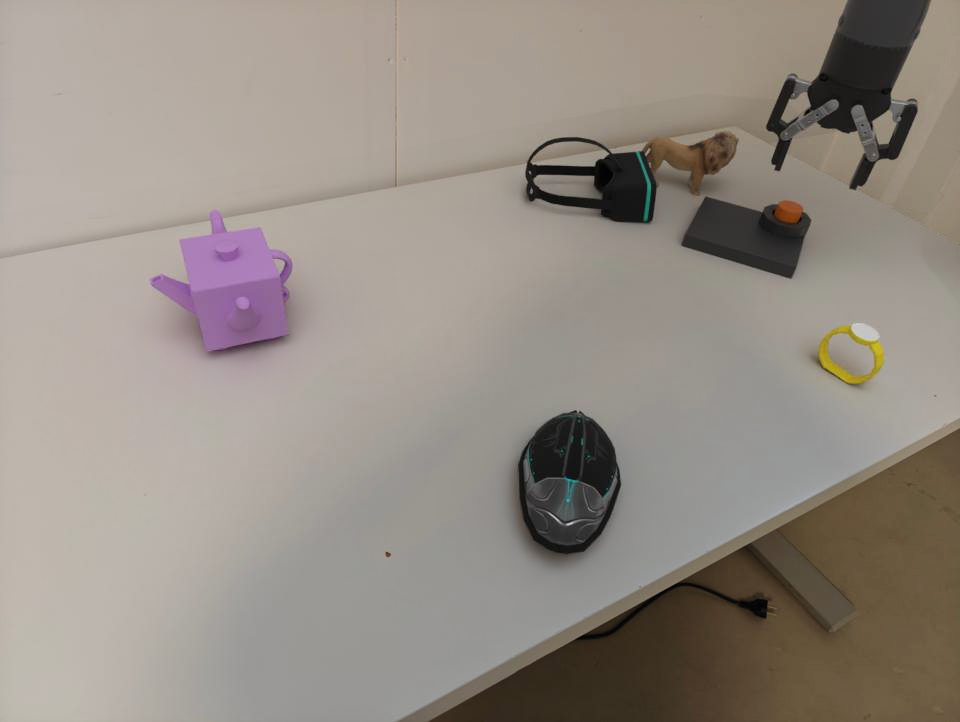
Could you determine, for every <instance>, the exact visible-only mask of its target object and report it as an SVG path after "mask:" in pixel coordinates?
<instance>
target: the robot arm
mask: <svg viewBox="0 0 960 722" xmlns="http://www.w3.org/2000/svg"><path fill="white" fill-rule="evenodd" d="M931 3H932V0H847V1H846V3H845V4H844V7H843V10H842V13H841V14H840V17H839V19H838V20H837V21H838V22H837V26H836V28H835V31H834V34H833V37H832V39H831V41H830V44H829V47H828V49H827V52H826V54H825V57H824V59H823V62H822V65H821V67H820V69H819V73H818V75H817V76H816V78H814V79H813V80H812V81H811V80H806V79H802V78H799V76H798V75H797V74H796V73H789V74H788V75H787V76H786V78H785V80H784V82H783V84H782V87H781V90H780V92H779V94H778V96H777V99H776V101H775V104H774V106H773V108H772V111H771V113H770V116H769V118H768V120H767V123H766V125H765V129H766V131H768V132H770V133H771V132H772V133H773V134H775V135H776V136H777V139H778V141H777V143H776V146H775V148H774V151H773V154H772V157H771V159H770V162H771V163H770V164H771V165H772V166H774V169H773V170H774V171H776V172H781V170H782V167H783V164H784V162H785V159H786V156H787V155H788V151H789V149H790V146H791V144H792V141H793V138H794V137H795V136H796V135H798V134H799V133H801V132H803V131H806V130H807V129H808V128H810V127H811V126H813V125H815V124H816V123H817V125H819V126H820V128H822V129H826V130H837V131H839V132H841V133H844V134H847V135H849V134H850V133H856V132H857V135H858V137H859V140H860V143H861V145H862V148H863V151H864V152H863V154H862V156H861V158H860V160H859V163H858V164H857V166H856V169H855V171H854V173H853V175H852V177H851V180H850V182H849V186H848V189H849V190H852V191H856V190H857V189H858V187H862V188H863V186H865V184H866V183H867V181H868V180H869V178H870V175H871V173H872V171H873V169H874V167H875V166H876V163H877V162H878V161H880V160H888V161H895V160H897V159H898V158H899V157H900V155H901V152H902V150H903V148H904V145H905V143H906V140H907V138H908V135H909V133H910V131H911V129H912V126H913V123H914V121H915V119H916V116H917V115H918V112H919V111H918V110H919V104H918V103H919V101H918V100H917V99H916V98H909V99H907V100H902V99H894V98H892V92H893V89H894V87H895V85H896V83H897V81H898V79H899V76H900V75H901V72H902V70H903V67H904V66H905V63H906V61H907V59H908V56H909V55H910V52H911V50H912V48H913V46H914V44H915V41H916V40H917V39H918V38H919V36H920V34H921V29H922V26H923V24H924V23H925V20H926V18H927V15H928V12H929V9H930V5H931ZM803 93H806V95H807V99H808V102H809V106H808V107H806V108H805V109H803V110H802V111H801V112H800V113H798V115H797V116H795V117H794V118H791V120H789V121H788V122H786V121H785V120H783V119H782V117H783V115H784V112H785V110H786V108H787V106H788V104H789V101H790V100H796V99H798V98H799V97H800V95H801V94H803ZM888 111H890V112H891V113H892V117H891V118H892V121H893V123H895V127H894V129H893V131H892V133H891V136H890V138H889V141H888V143H880V142H879V140H878V136H877V132H876V128H875V124H874V121H875V120H877V119H878V118H879V117H881V116H883V115H884V114H886V113H887V112H888Z"/></svg>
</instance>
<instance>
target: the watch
mask: <svg viewBox="0 0 960 722" xmlns="http://www.w3.org/2000/svg"><path fill="white" fill-rule="evenodd" d="M838 334H845V335H846V334H847V335H848V336H849V338H850V339H851V340H852V341H854V342H855V343H857V344H859V345H862V346H867V347H869V349H870V351H871V352H872V355H873V360H874V361H873V364H874V366H873V368H872V370H871V371H870V372H869V373H867V374H865V375H852V373H849V372H848V371H847V370H845V369H843V368H842V367H841V366H840V365H838V364H836V363H835V362H834V361H832V359H831V357H830V354H829V351H828V350H829V341H830V340H831V338H832V337H833V336H836V335H838ZM817 353H818V358H819V361H820V363H821V366H822V368H823V369H826V370H827V371H828V372H830V373H832V374H834V375H835V376H836V377H837V378H838V379H841V380H842V381H843V382H845V383H846V384H851V385H852V384H853V385H860V384H864V383H865V382H868V381H869V380H872V379H873V378H874V377H875V376H876V375H877V374H878V373H879V372H880V371H881V369H882V367H883V365H884V363H885V356H884V355H885V354H884V353H885V351H884V348H883V346H882V345H881V343H880V333H879V332H878V331H877V330H876V329H875V328H874V327H873V326H871V325H868V324H866V323H862V322H856V323H855V322H854V323H853V324H851V325H847V324H846V325H842V326H839V327H836V328H834V329H832V330H831V331H829V332H828V333H827V334H825V335H824V337H823V338H822V339H821V341H820V342H819V344H818V352H817Z"/></svg>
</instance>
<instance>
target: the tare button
mask: <svg viewBox="0 0 960 722" xmlns="http://www.w3.org/2000/svg"><path fill="white" fill-rule="evenodd" d="M777 204H778V205H777V208H776V210H775V213H774V217H775V218H777V219H779V220H781V221H784V222H788V223H797V222H798V221H799V219H800V217H801V214H802V212H804V206H802V205H801V204H800V203H798V202H796V201H793V200H788V199H787V200H785V199H784V200H780V201H779V202H778V203H777Z"/></svg>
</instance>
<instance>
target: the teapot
mask: <svg viewBox="0 0 960 722" xmlns="http://www.w3.org/2000/svg"><path fill="white" fill-rule="evenodd" d="M209 221H210V224H211V225H210V227H211V234H205V235H199V236H193V237H188V238H180V239H179V244H180V249H181V253H182V257H183V263H184V266H185V267H184V268H185V271H186V275H187V279H188V283H186V282H184V281H180V280H178V279H175V278H172V277H170V276H166V275H164V274H163V273H160V274H157V275H156V276H153V277H150V278H149V284H150V286H151V287H152V288H154V289H155V290H157V291H158V292H160V293H161V294H162V295H164V296H165V297H166V298H169V300H171V301H172V302H174V303H176V304H177V305H178V306H180V307H182V308H183V309H184V310H186V311H187V312H189V313H191V314H192V315H193V316H194V317H197V320H198V324H199V327H200V331H201V336H202V339H203V343H204V347H205V351H206V352H211V351H216V350H217V351H224V350H227V349H229V348H231V347H236V346H240V345H245V344H249V343H254V342H259V341H265V340H266V341H272V340H274V339H277V338H278V337H283V336H288V335H289V328H288V321H287V314H286V313H287V312H286V308H285V302H286V301H287V302H288V300H289V298H290V290H289V288H288V287H287V286H286V285H285V284H286V283H287V281H288V279H289V278H290V276H291V274H292V271H293V261H292V259H291V257H290V256H289V255H288V254H287V253H286V252H284V251H282V250H279V249H273V248H272V249H270V248H269V245H268V243H267V240H266V238H265V235H264V232H263V230H262V227H253V228H246V229H238V230H233V231H231V230H230V231H228V230H227V228H226V225H225V223H224V220H223V217H222V214H221V212H220V211H219V210H218V209H212V210H210V212H209ZM275 260H281V261H282V262H284V266H283V268H282V271H281V272H280V273H279V270H278V268H277V265H276V263H275Z"/></svg>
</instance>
